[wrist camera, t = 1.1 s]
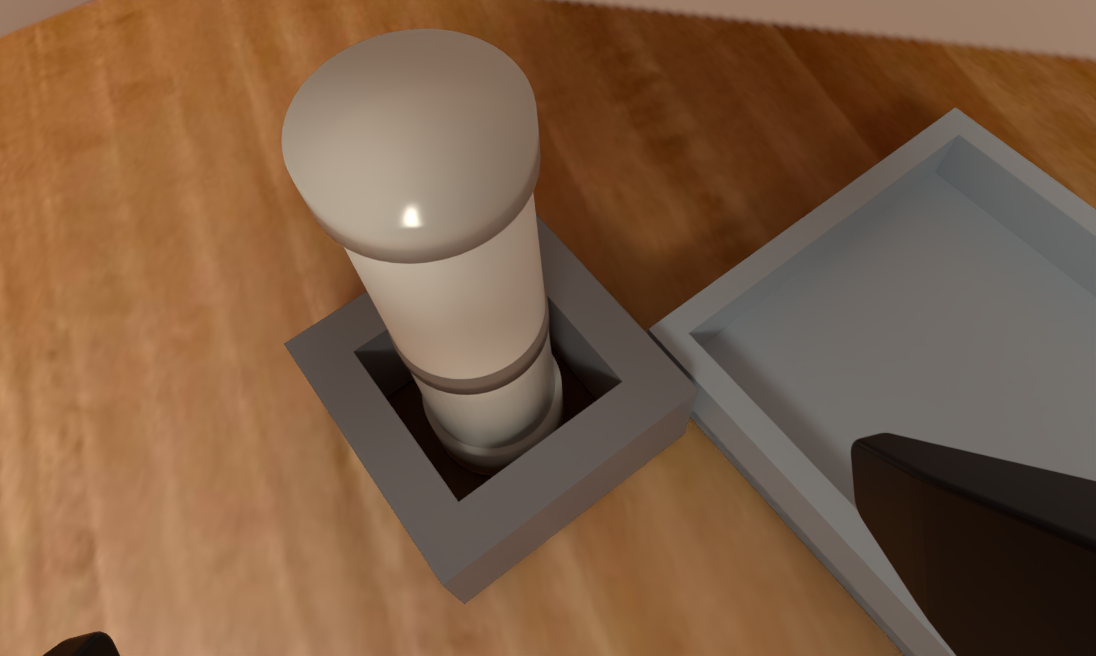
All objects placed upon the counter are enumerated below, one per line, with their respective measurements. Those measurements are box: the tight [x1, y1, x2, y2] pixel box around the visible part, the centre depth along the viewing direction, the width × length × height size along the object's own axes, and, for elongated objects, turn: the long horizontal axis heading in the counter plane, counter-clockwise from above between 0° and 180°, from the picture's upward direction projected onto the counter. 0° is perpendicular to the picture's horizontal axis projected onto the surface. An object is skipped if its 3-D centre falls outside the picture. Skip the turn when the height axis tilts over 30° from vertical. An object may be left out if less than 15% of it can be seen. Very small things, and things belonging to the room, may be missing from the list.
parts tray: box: [648, 107, 1096, 656], centre depth 21 cm, size 17×13×2 cm
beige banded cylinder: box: [282, 29, 564, 476], centre depth 18 cm, size 4×4×13 cm
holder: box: [284, 214, 699, 604], centre depth 22 cm, size 8×8×4 cm
